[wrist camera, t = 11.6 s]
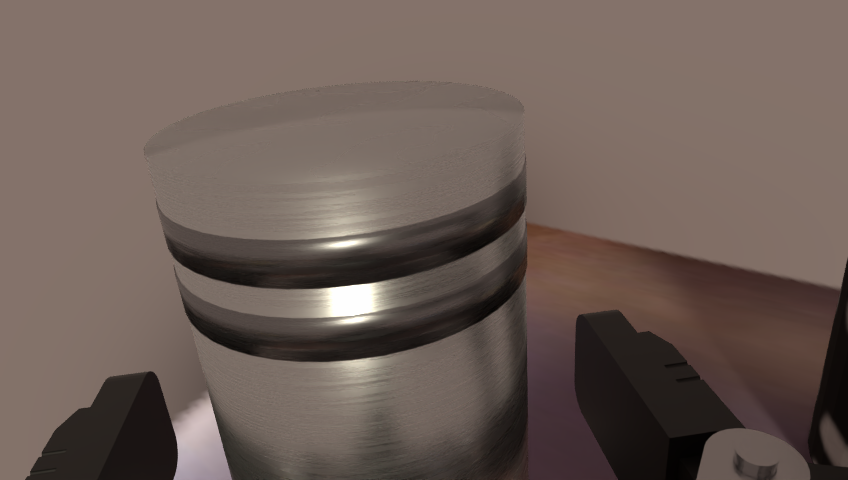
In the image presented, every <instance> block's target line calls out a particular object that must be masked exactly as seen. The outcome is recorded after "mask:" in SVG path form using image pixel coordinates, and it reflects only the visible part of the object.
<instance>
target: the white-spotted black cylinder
mask: <svg viewBox="0 0 848 480" xmlns="http://www.w3.org/2000/svg"><path fill="white" fill-rule="evenodd" d="M808 444H809V450H810V456H811V458H812V460H813V463H814V464H820V465H830V466H841V467H848V260H847V264H846V268H845V273H844V277H843V282H842V286H841V291H840V295H839V300H838V304H837V309H836V314H835V318H834V323H833V327H832V332H831V336H830V341H829V345H828V350H827V354H826V359H825V363H824V368H823V372H822V377H821V381H820V386H819V390H818V395H817V400H816V404H815V409H814V413H813V418H812V422H811V427H810V432H809V437H808Z"/></svg>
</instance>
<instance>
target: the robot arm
mask: <svg viewBox="0 0 848 480" xmlns="http://www.w3.org/2000/svg"><path fill="white" fill-rule="evenodd" d="M575 391H576V396H577V400H578V404H579V407H580V409H581V412H582V414H583V416H584V418H585V419H586V421H587V423H588V425H589V427H590V429H591V430H592V432H593V434H594V436H595V438H596V440H597V442H598V443H599V445H600V447H601V449H602V451H603V453H604V454H605V456H606V458H607V460H608V462H609V464H610V465H611V467H612V469H613V471H614V473H615V475H616V477H617V478H618V480H848V467H841V466H830V465H820V464H812V463H807V462H806V461H805V459H804V458H803V457H802V456H801V454H800V453H799V452H798V451H797V450H795V449H794V448H793V447H792V446H791V445H789V444H788V443H786V442H785V441H783V440H781V439H779V438H777V437H775V436H772V435H770V434H767V433H764V432H761V431H757V430H752V429H746V428H745V427H744V426H743V425H742V424H741V422H740V421H739V420H738V419H737V418H736V417H735V416H734V414H733V413H732V412H731V411H730V410H729V409H728V408H727V407H726V405H725V404H724V403H723V402H722V401H721V400H720V399H719V397H718V396H717V395H716V394H715V393H714V392H713V391H712V389H711V388H710V387H709V386H708V385H707V384H706V383H705V381H704V380H700V376H699V375H698V373H697V372H696V371H695V370H694V369H693V368H692V367H691V365H688V364H687V361H686V360H685V359H684V357H683V356H682V355H681V354H680V353H679V352H678V351H677V349H676V348H675V347H674V346H673V345H672V344H670V343H669V342H667V341H665V340H663V339H662V338H660V337H658V336H656V335H655V334H653V333H651V332H649V331H647V332H640V333H637V332H636V330H635V329H634V328H633V327H632V325H631V324H630V323H629V322H628V320H627V319H626V318H625V317H624V316H623V314H622V313H621V312H620V311H618V310H611V311H603V312H596V313H588V314H581V315H579V316H578V318H577V321H576V342H575ZM177 460H178V449H177V440H176V436H175V432H174V429H173V426H172V422H171V419H170V416H169V413H168V410H167V406H166V403H165V399H164V396H163V393H162V390H161V387H160V383H159V380H158V378H157V376H156V375H155V373H154V372H151V371H150V372H143V373H135V374H128V375H120V376H113V377H109V378H107V379H106V381H105V382H104V384H103V386H102V387H101V389H100V391H99V393H98V395H97V397H96V398H95V400H94V402H93V404H92V405H91V407H89V408H81V409H78V410H77V411H76V412H75V413H74V414H73V415H72V416H70V417H69V418H68V419H67V420H66V421H65V422H64V423H63V424H61V425H60V426H59V427H58V428H57V429H56V430H55V431H54V433H53V435H52V437H51V438H50V440H49V441H48V443H47V445H46V447H45V448H44V450H43V451H42V457H39V458H38V460H37V461H36V463H35V464H34V466H33V468H32V469H31V471H30V476H28V477H27V478H26V479H25V480H173V479H174V476H175V472H176V468H177Z"/></svg>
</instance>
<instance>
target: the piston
mask: <svg viewBox="0 0 848 480" xmlns="http://www.w3.org/2000/svg"><path fill="white" fill-rule="evenodd" d="M524 151H525V150H524V108H523V105H522V104H521V102H520V101H519V100H518V99H516V98H515V97H513V96H511V95H509V94H506V93H505V92H502V91H498V90H495V89H491V88H487V87H482V86H475V85H469V84H461V83H450V82H430V81H395V82H394V81H393V82H371V83H357V84H344V85H335V86H325V87H318V88H310V89H303V90H297V91H290V92H284V93H278V94H273V95H268V96H263V97H258V98H253V99H248V100H244V101H240V102H236V103H232V104H228V105H224V106H221V107H217V108H214V109H211V110H207V111H205V112H201V113H198V114H196V115H193V116H190V117H187V118H185V119H183V120H180V121H178V122H176V123H174V124H171V125H170V126H168V127H166V128H164V129H162V130H161V131H159V132H158V133H156V134H155V135H154V136H152V137H151V138H150V140H149V141H148V142H147V143H146V145H145V147H144V155H145V159H146V162H147V166H148V170H149V173H150V177H151V181H152V184H153V188H154V192H155V196H156V204H157V209H158V213H159V217H160V220H161V224H162V228H163V232H164V235H165V238H166V243H167V246H168V249H169V251H170V252H171V255H172V259H173V262H174V270H175V276H176V279H177V283H178V287H179V290H180V294H181V298H182V302H183V305H184V309H185V313H186V315H187V316H188V318H189V322H190V325H191V329H192V333H193V337H194V340H195V344H196V348H197V351H198V355H199V359H200V363H201V366H202V370H203V374H204V377H205V381H206V385H207V388H208V392H209V396H210V400H211V403H212V407H213V411H214V414H215V418H216V422H217V426H218V429H219V433H220V437H221V440H222V444H223V448H224V452H225V455H226V459H227V463H228V466H229V470H230V474H231V477H232V480H528V400H527V316H526V268H527V224H526V218H525V206H526V202H527V197H526V157H525V152H524Z"/></svg>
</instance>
